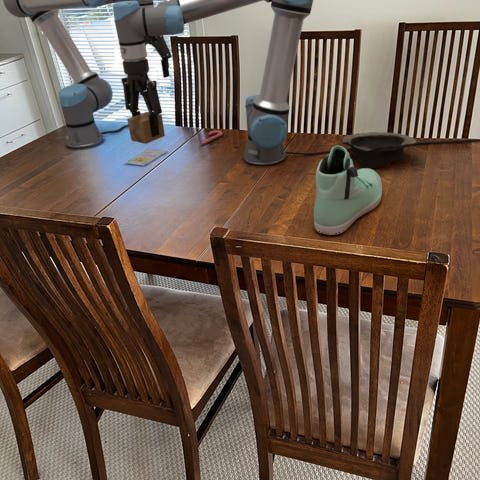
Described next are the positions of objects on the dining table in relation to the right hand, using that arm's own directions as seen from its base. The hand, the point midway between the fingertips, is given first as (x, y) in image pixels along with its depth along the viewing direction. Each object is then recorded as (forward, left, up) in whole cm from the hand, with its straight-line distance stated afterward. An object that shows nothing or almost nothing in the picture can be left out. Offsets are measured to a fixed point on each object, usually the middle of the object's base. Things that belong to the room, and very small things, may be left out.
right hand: (147, 133), depth 155 cm
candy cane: (-31, -31, -18) cm, 47 cm away
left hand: (-15, -47, +8) cm, 50 cm away
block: (0, 0, -2) cm, 2 cm away
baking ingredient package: (-2, -25, -18) cm, 31 cm away
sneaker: (-46, +47, -18) cm, 68 cm away
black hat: (-74, +21, -18) cm, 79 cm away
